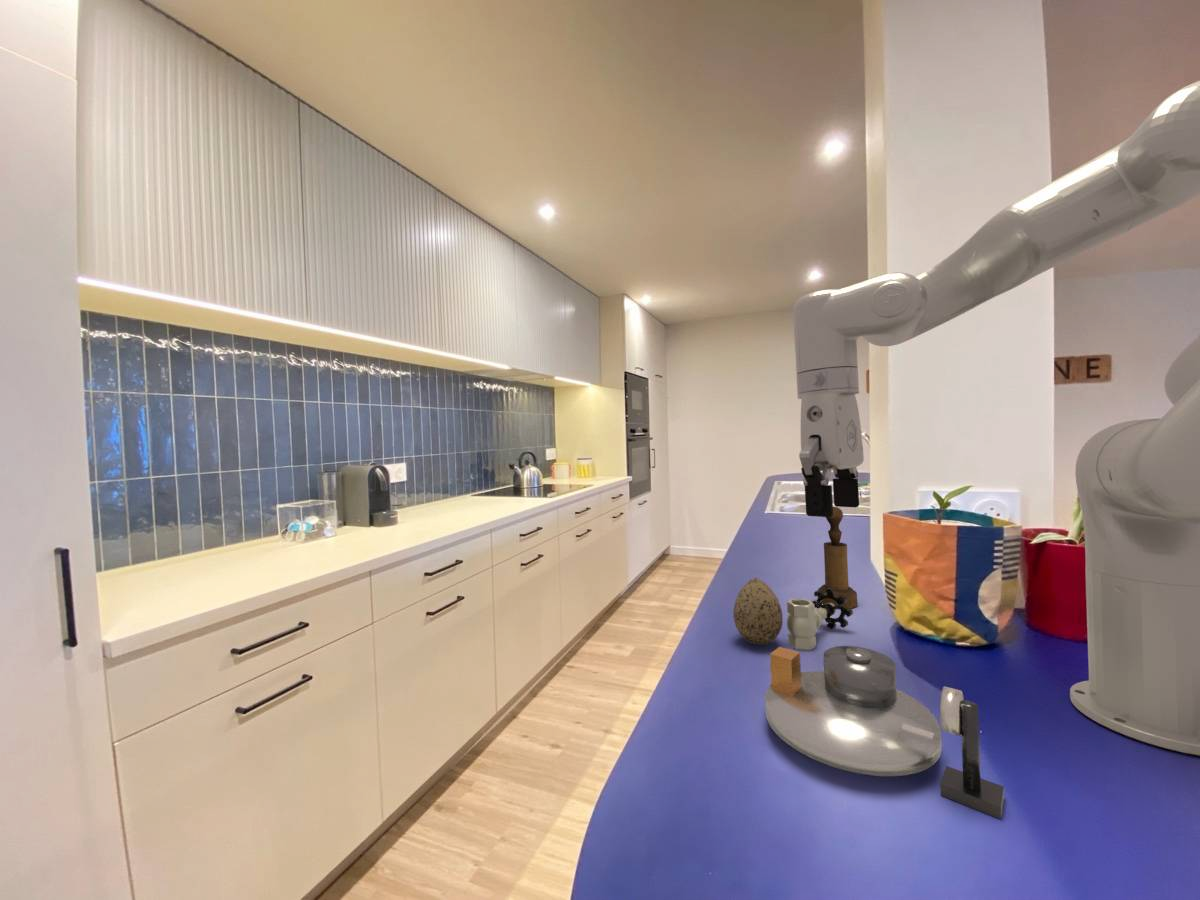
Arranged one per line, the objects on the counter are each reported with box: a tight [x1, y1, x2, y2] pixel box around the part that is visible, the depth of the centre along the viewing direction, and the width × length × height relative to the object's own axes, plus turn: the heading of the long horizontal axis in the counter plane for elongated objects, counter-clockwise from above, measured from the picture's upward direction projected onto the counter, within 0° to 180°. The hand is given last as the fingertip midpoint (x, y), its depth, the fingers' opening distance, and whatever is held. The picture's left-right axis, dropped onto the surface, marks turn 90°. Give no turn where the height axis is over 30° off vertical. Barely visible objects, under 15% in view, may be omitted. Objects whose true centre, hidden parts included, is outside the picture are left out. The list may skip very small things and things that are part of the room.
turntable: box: [764, 646, 942, 777], centre depth 49 cm, size 16×16×6 cm
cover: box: [823, 645, 897, 708], centre depth 52 cm, size 7×7×4 cm
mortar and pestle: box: [817, 506, 858, 609], centre depth 88 cm, size 7×6×18 cm
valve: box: [786, 588, 854, 651], centre depth 74 cm, size 7×7×12 cm
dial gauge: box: [939, 686, 1005, 820], centre depth 40 cm, size 4×4×9 cm
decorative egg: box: [732, 577, 784, 646], centre depth 73 cm, size 7×7×10 cm
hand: (833, 511), depth 64 cm, fingers open, 9 cm apart
